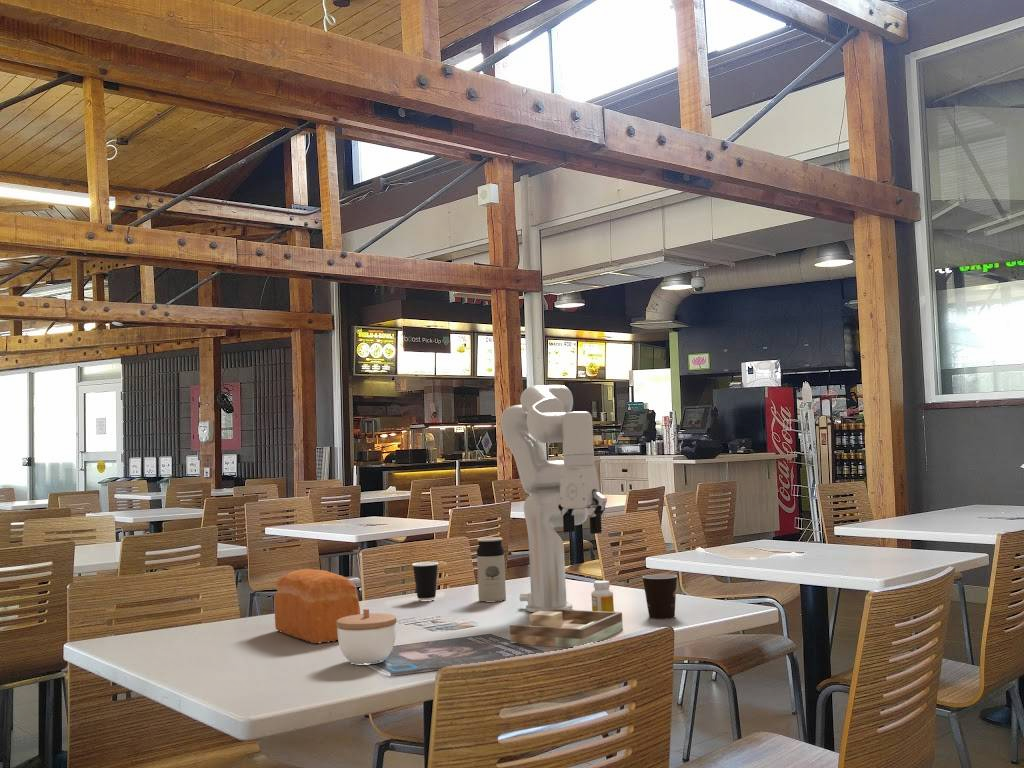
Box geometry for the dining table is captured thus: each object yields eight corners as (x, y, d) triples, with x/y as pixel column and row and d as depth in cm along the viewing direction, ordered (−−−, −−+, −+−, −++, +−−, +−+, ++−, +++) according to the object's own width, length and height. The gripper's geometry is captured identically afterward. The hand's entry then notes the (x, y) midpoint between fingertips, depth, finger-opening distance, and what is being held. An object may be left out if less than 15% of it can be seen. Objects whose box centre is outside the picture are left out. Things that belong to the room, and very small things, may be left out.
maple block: (530, 627, 217) (529, 614, 217) (540, 623, 221) (539, 610, 221) (553, 628, 214) (552, 615, 214) (562, 624, 218) (562, 612, 218)
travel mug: (481, 598, 277) (478, 537, 278) (507, 597, 276) (505, 536, 277) (476, 603, 269) (474, 540, 270) (503, 602, 268) (501, 539, 269)
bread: (321, 624, 246) (319, 563, 247) (365, 637, 225) (363, 571, 226) (271, 631, 238) (269, 569, 239) (311, 646, 217) (309, 577, 218)
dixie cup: (445, 599, 278) (443, 562, 279) (424, 603, 272) (423, 565, 273) (428, 597, 284) (427, 561, 284) (407, 601, 278) (406, 564, 279)
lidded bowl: (402, 664, 193) (400, 611, 194) (340, 671, 189) (339, 616, 190) (392, 653, 205) (390, 602, 206) (334, 659, 201) (333, 607, 202)
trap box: (510, 643, 210) (509, 625, 210) (555, 625, 229) (554, 609, 229) (582, 648, 201) (581, 629, 201) (622, 629, 220) (621, 612, 220)
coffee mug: (669, 620, 228) (666, 579, 229) (638, 618, 234) (636, 578, 234) (690, 613, 238) (688, 573, 238) (660, 610, 243) (658, 572, 244)
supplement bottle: (617, 619, 233) (615, 580, 234) (610, 623, 228) (608, 583, 229) (597, 618, 236) (595, 579, 236) (589, 622, 231) (587, 582, 231)
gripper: (544, 463, 232) (547, 532, 231) (591, 462, 218) (595, 535, 217) (567, 462, 236) (570, 530, 235) (614, 460, 223) (618, 532, 222)
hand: (582, 532), depth 226 cm, fingers open, 9 cm apart
